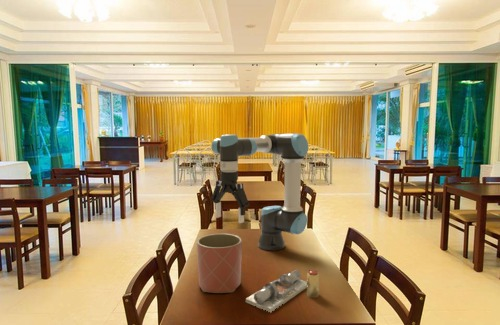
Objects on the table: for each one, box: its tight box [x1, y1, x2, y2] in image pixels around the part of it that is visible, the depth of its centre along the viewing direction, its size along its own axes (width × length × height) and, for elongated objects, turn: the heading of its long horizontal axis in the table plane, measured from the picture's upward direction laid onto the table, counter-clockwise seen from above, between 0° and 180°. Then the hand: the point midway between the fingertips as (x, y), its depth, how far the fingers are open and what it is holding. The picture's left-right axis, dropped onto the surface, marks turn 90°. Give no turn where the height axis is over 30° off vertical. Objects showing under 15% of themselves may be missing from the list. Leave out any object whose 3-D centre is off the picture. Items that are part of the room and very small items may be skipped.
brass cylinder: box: [306, 269, 320, 299], centre depth 136 cm, size 5×5×10 cm
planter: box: [196, 233, 243, 294], centre depth 144 cm, size 19×19×20 cm
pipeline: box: [245, 269, 307, 314], centre depth 137 cm, size 28×12×6 cm, turn 140°
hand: (229, 219), depth 146 cm, fingers open, 13 cm apart
